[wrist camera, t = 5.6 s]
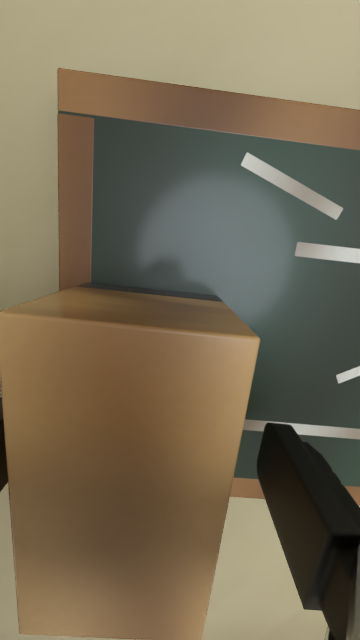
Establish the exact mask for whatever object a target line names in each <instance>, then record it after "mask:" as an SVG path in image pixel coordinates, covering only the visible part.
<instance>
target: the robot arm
mask: <svg viewBox="0 0 360 640" xmlns="http://www.w3.org/2000/svg"><path fill="white" fill-rule="evenodd" d="M257 475H258V480H259V483H260V486H261V489H262V491H263V494H264V497H265V500H266V503H267V506H268V508H269V511H270V514H271V517H272V520H273V523H274V525H275V528H276V531H277V534H278V537H279V540H280V543H281V545H282V548H283V551H284V554H285V557H286V560H287V562H288V565H289V568H290V571H291V574H292V577H293V579H294V582H295V585H296V588H297V591H298V594H299V596H300V599H301V602H302V605H303V608H304V609H308V610H322V612H323V614H324V617H325V619H326V622H327V624H328V627H327V630H326V634H325V640H360V507H359V506H358V505H357V503H356V502H355V500H354V499H353V498H352V496H351V495H350V493H349V492H348V491H347V489H346V488H345V486H344V485H342V484H341V481H340V479H339V478H338V477H337V475H336V474H335V472H333V471H332V468H331V467H330V465H329V464H328V462H327V461H326V460H325V458H324V457H323V455H322V454H321V453H319V452H318V451H317V450H316V449H315V448H314V447H312V446H311V445H310V444H309V443H308V442H302V440H301V439H300V437H299V436H298V434H297V433H296V431H295V430H294V428H293V427H292V426H291V425H289V424H279V423H267V424H266V425H265V427H264V432H263V436H262V440H261V445H260V449H259V454H258V458H257ZM7 482H8V473H7V459H6V446H5V432H4V419H3V406H2V397H1V398H0V492H1V490H2V489H3V488H4V486H5V485H6V484H7Z"/></svg>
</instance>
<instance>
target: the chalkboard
mask: <svg viewBox="0 0 360 640" xmlns="http://www.w3.org/2000/svg"><path fill="white" fill-rule="evenodd" d="M58 201H59V292H60V291H63V290H66V289H69V288H72V287H75V286H78V285H81V284H84V283H98V284H107V285H117V286H126V287H136V288H145V289H155V290H165V291H174V292H184V293H193V294H203V295H212V296H218V297H219V298H220V299H221V300H222V301H223V302H224V303H225V304H226V305H227V306H228V307H229V308H230V309H231V310H232V311H233V312H234V313H235V314H236V315H237V316H238V317H239V318H240V319H241V320H242V321H243V322H244V323H245V324H246V325H247V326H248V327H249V328H250V329H251V330H252V331H253V332H254V333H255V334H256V335H257V336H258V337H259V338H260V344H259V349H258V354H257V359H256V365H255V370H254V375H253V380H252V385H251V390H250V395H249V400H248V405H247V410H246V416H245V421H244V426H243V431H242V436H241V441H240V446H239V451H238V456H237V462H236V467H235V472H234V477H233V482H232V487H231V492H230V497H244V498H258V499H265V497H264V494H263V491H262V489H261V486H260V483H259V480H258V475H257V458H258V454H259V449H260V445H261V440H262V436H263V432H264V427H265V425H266V424H267V423H279V424H289V425H291V426H292V427H293V428H294V430H295V431H296V433H297V434H298V436H299V437H300V439H301V440H302V442H308V443H309V444H310V445H311V446H312V447H314V448H315V449H316V450H317V451H318V452H319V453H321V454H322V455H323V457H324V458H325V460H326V461H327V462H328V464H329V465H330V467H331V468H332V471H333V472H335V474H336V475H337V477H338V478H339V479H340V481H341V484H342V485H344V486H345V488H346V489H347V491H348V492H349V493H350V495H351V496H352V498H353V499H354V500H355V502H356V503H357V505H358V506H360V110H356V109H349V108H341V107H334V106H327V105H320V104H313V103H306V102H298V101H291V100H284V99H277V98H270V97H263V96H255V95H248V94H241V93H234V92H227V91H220V90H212V89H205V88H198V87H191V86H184V85H177V84H169V83H162V82H155V81H148V80H141V79H134V78H126V77H119V76H112V75H105V74H98V73H91V72H83V71H76V70H69V69H62V68H58Z"/></svg>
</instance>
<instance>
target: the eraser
mask: <svg viewBox="0 0 360 640" xmlns="http://www.w3.org/2000/svg"><path fill="white" fill-rule="evenodd" d="M259 344H260V338H259V337H258V336H257V335H256V334H255V333H254V332H253V331H252V330H251V329H250V328H249V327H248V326H247V325H246V324H245V323H244V322H243V321H242V320H241V319H240V318H239V317H238V316H237V315H236V314H235V313H234V312H233V311H232V310H231V309H230V308H229V307H228V306H227V305H226V304H225V303H224V302H223V301H222V300H221V299H220V298H219V297H218V296H212V295H203V294H193V293H184V292H174V291H165V290H155V289H145V288H136V287H126V286H117V285H107V284H98V283H84V284H81V285H78V286H75V287H72V288H69V289H66V290H63V291H60V292H57V293H54V294H51V295H48V296H45V297H42V298H39V299H36V300H33V301H29V302H26V303H23V304H20V305H17V306H14V307H11V308H8V309H5V310H2V311H0V379H1V392H2V406H3V419H4V432H5V446H6V459H7V473H8V486H9V500H10V513H11V527H12V540H13V554H14V567H15V580H16V594H17V607H18V621H19V633H20V634H29V635H51V636H73V637H96V638H118V639H140V640H202V635H203V630H204V625H205V620H206V615H207V610H208V605H209V600H210V594H211V589H212V584H213V579H214V574H215V569H216V564H217V559H218V554H219V548H220V543H221V538H222V533H223V528H224V523H225V518H226V513H227V508H228V502H229V497H230V492H231V487H232V482H233V477H234V472H235V467H236V462H237V456H238V451H239V446H240V441H241V436H242V431H243V426H244V421H245V416H246V410H247V405H248V400H249V395H250V390H251V385H252V380H253V375H254V370H255V365H256V359H257V354H258V349H259Z"/></svg>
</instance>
